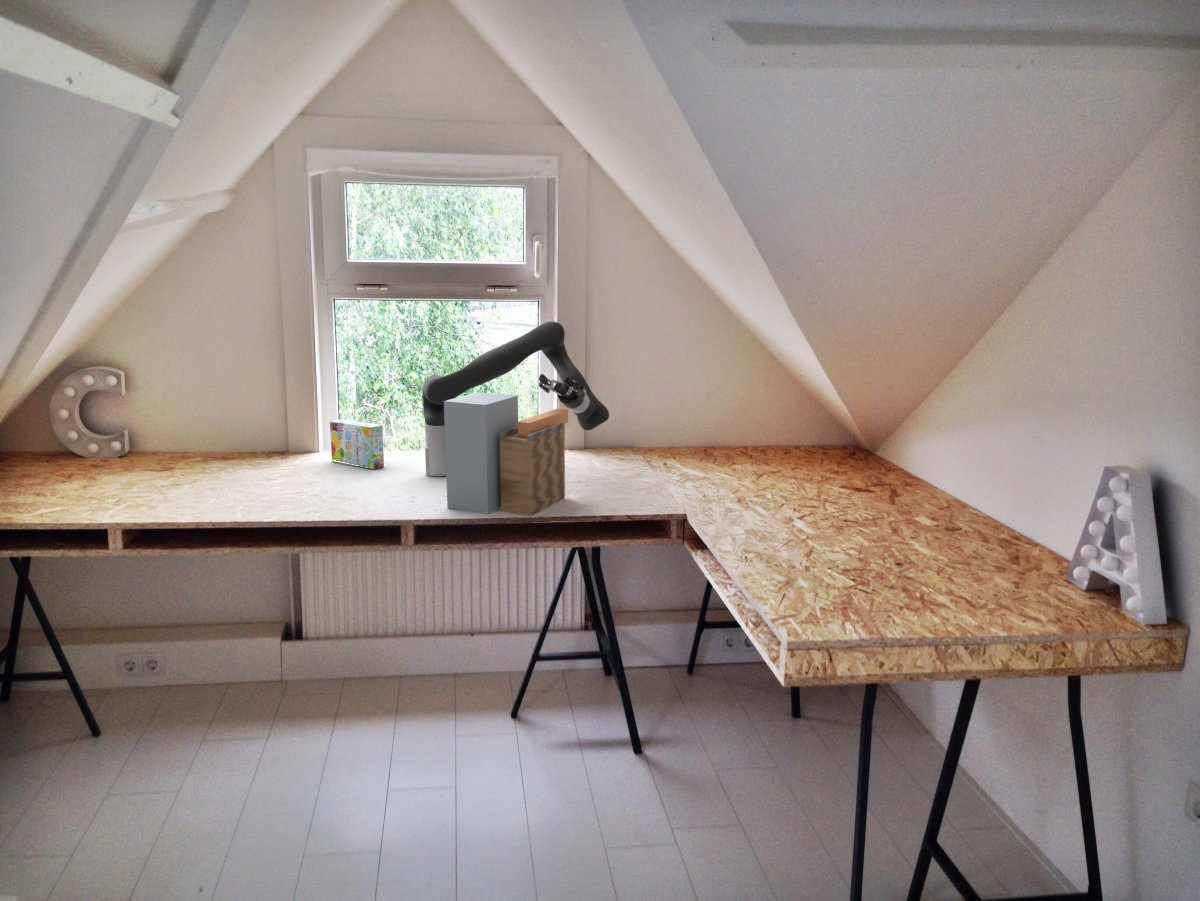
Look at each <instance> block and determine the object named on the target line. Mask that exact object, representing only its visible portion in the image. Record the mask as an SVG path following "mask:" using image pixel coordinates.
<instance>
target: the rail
mask: <svg viewBox="0 0 1200 901" xmlns="http://www.w3.org/2000/svg"><path fill="white" fill-rule="evenodd" d="M560 423H565V424H567V423H569V409H564V408H555V409H552V410H549V411H546V412H543V413H540V414H536V415H534V416H531V417H528V418H525V419H521V420H518V435H519V436H527V435H530V434H532V433H535V432H538V431H541V430H543V429H546V428H549V427H551V426H554V425H557V424H560Z"/></svg>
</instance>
